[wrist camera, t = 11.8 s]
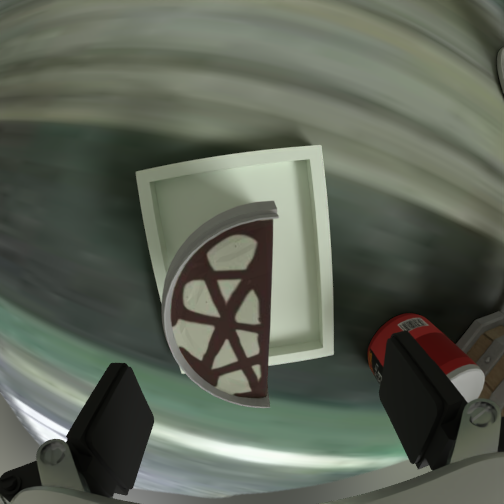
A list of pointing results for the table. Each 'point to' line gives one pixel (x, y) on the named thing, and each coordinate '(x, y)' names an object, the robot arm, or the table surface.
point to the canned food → (429, 353)
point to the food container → (224, 304)
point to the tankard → (487, 354)
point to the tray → (284, 233)
